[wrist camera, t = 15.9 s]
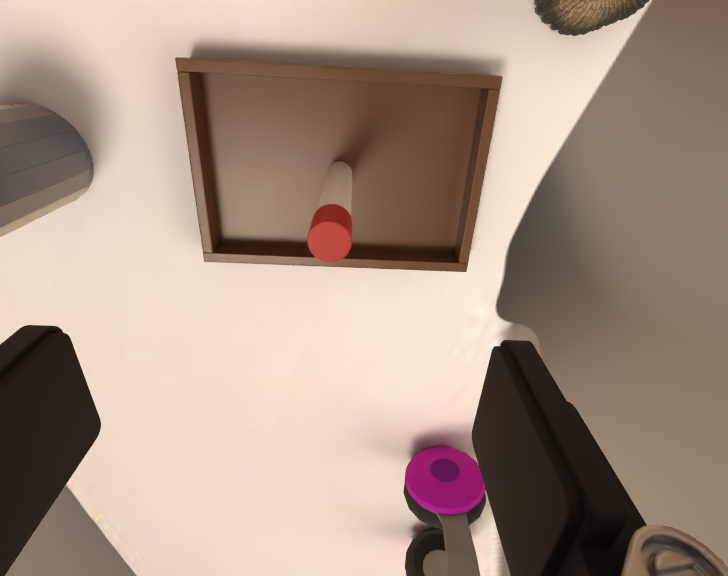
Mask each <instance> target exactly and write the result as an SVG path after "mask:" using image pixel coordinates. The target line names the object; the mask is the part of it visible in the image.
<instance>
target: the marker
mask: <svg viewBox="0 0 728 576" xmlns="http://www.w3.org/2000/svg"><path fill="white" fill-rule="evenodd" d="M351 200H352V170H351V168H350V166H349V165H348V164H346V163H344V162H340V161H338V162H334V163H333V164H331V165H330V166H329V168H328V170H327V174H326V178H325V181H324V185H323V189H322V193H321V196H320V200H319V204H318V208H317V211H316V212H315V214H314V216H313V219H312V223H311V226H310V230H309V233H308V238H307V244H308V248H309V250H310V252H311V253H312V254H313V255H314V256H315V257H316V258H318V259H319V260H321V261H325V262H336V261H339V260H341V259H343V258H344V257H345V256H346V255H347V254H348V253H349V251H350V249H351V246H352V218H351Z"/></svg>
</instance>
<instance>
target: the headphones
mask: <svg viewBox="0 0 728 576" xmlns="http://www.w3.org/2000/svg"><path fill="white" fill-rule="evenodd" d="M485 490H486V488H485V485H484V481H483V478H482V475H481V471H480V468H479V465H478V464H477V462H476V461H475V460H474V459H472V458H471V457H470V456H469V455H467V454H466V453H464V452H462V451H459V450H457V449H454V448H451V447H440V446H437V447H432V448H427V449H424V450H422V451H421V452H419V453H418V454H416V455H414V457H413V458H412V459H411V461H410V462H409V464H408V465H407V468H406V473H405V485H404V496H405V498H406V501H407V504H408V507H409V509H410V510H411V511H412V512H413V513H414V514H415V515H416V517H417V518H418V519H419V520H420V521H422V522H424V523H426V524H428V525H430V526H432V527H434V529H430V530H427V531H423V532H421V533H420V534H419V535H418V536H416V537H415V538H414V539H413V540H412V542H411V544H410V546H409V548H408V550H407V552H406V561H405V569H406V575H407V576H480V572H479V567H478V561H477V556H476V552H475V548H474V544H473V540H472V536H471V532H470V529H469V525H470V524H472V523H473V522H474V521H475V520H477V519H478V518H479V517H480V515H481V513H482V511H483V508H484V506H485V503H486V495H485ZM435 528H439V529H435ZM442 529H443V530H442Z"/></svg>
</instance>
